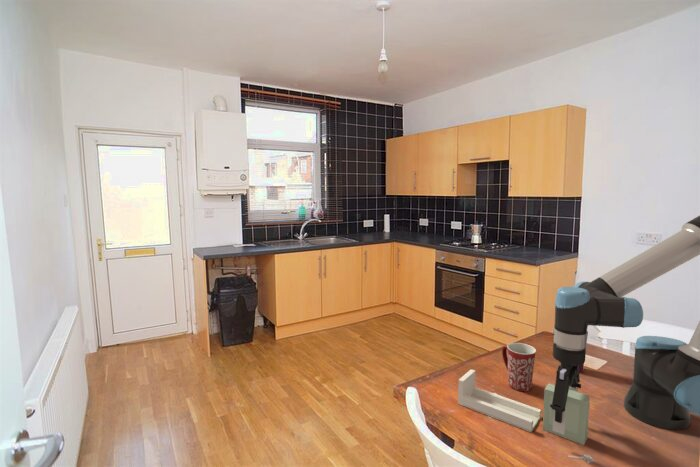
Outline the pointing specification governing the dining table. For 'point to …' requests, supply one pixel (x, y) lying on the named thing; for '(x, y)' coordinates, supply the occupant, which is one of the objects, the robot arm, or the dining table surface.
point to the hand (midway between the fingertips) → (564, 420)
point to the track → (496, 404)
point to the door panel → (568, 415)
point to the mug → (519, 365)
